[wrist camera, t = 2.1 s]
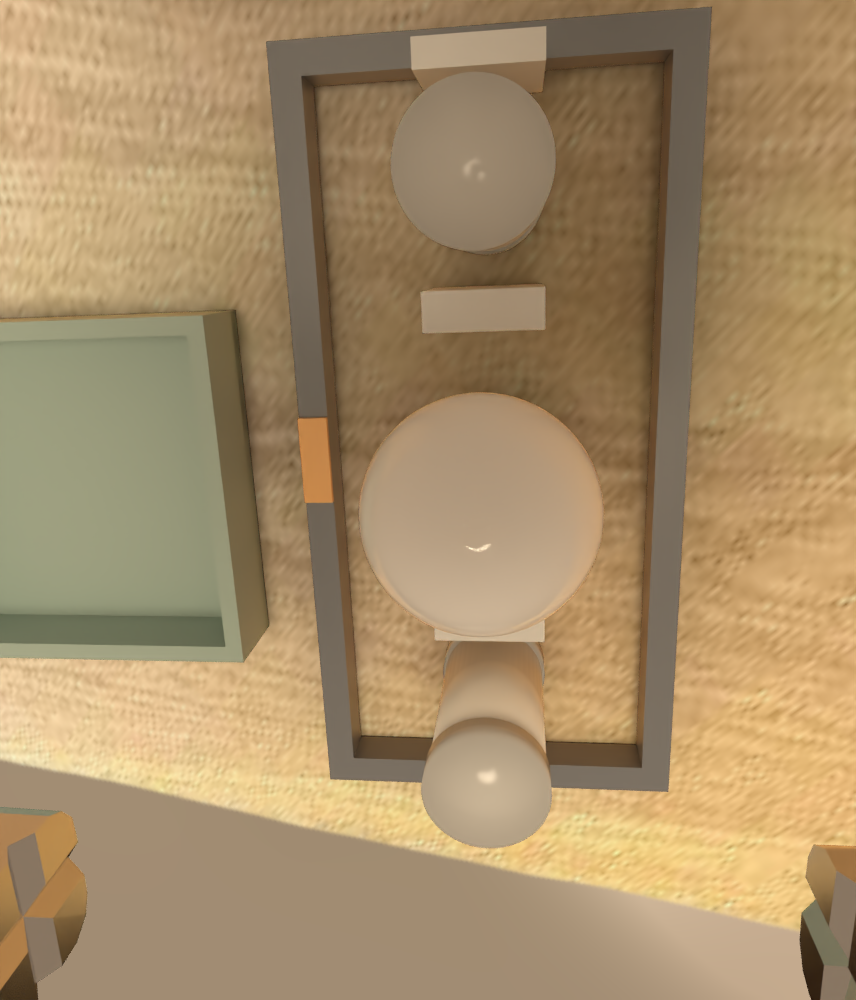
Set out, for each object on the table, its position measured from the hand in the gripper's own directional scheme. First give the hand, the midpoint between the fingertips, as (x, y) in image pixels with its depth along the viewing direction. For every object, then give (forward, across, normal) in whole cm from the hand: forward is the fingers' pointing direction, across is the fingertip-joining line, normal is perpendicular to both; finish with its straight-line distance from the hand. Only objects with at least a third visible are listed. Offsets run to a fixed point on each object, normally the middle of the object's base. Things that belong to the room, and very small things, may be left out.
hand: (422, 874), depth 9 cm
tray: (+20, +15, +1) cm, 25 cm away
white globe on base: (+20, 0, -9) cm, 22 cm away
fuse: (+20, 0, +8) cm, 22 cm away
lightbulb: (+21, 0, 0) cm, 21 cm away
